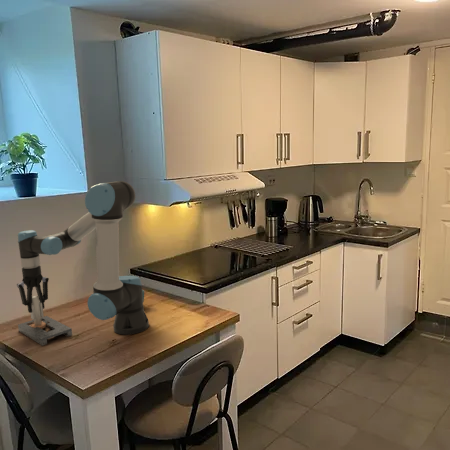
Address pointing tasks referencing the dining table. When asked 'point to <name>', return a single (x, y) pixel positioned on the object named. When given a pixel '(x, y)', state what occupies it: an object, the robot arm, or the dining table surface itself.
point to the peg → (37, 313)
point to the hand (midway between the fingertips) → (37, 317)
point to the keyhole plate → (42, 335)
